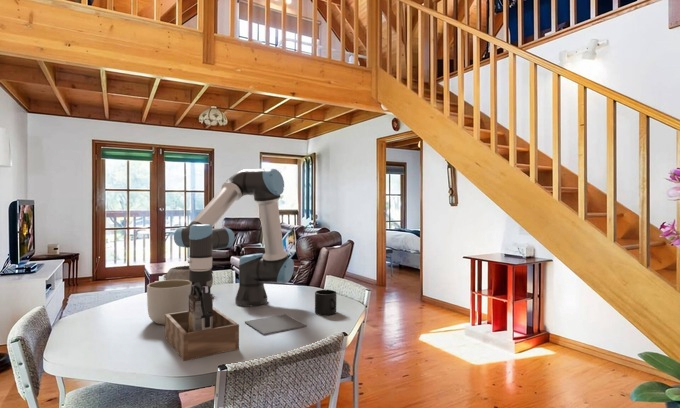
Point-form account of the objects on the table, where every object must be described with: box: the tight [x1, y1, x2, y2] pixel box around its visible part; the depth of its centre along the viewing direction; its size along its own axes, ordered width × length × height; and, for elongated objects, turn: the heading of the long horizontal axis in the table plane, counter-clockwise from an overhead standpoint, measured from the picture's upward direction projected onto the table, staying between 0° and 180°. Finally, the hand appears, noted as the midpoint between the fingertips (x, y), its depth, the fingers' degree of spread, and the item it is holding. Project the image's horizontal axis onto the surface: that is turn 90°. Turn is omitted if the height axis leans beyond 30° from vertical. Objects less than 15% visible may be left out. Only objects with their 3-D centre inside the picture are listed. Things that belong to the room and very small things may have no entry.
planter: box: [146, 279, 192, 326], centre depth 160 cm, size 17×17×15 cm
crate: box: [164, 306, 240, 361], centre depth 136 cm, size 26×17×8 cm, turn 35°
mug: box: [314, 289, 337, 316], centre depth 173 cm, size 9×12×9 cm
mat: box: [244, 313, 308, 336], centre depth 157 cm, size 18×18×1 cm
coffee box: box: [189, 294, 214, 332], centre depth 136 cm, size 9×6×16 cm
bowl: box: [164, 265, 214, 289], centre depth 203 cm, size 23×23×15 cm
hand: (200, 331), depth 136 cm, fingers open, 13 cm apart
